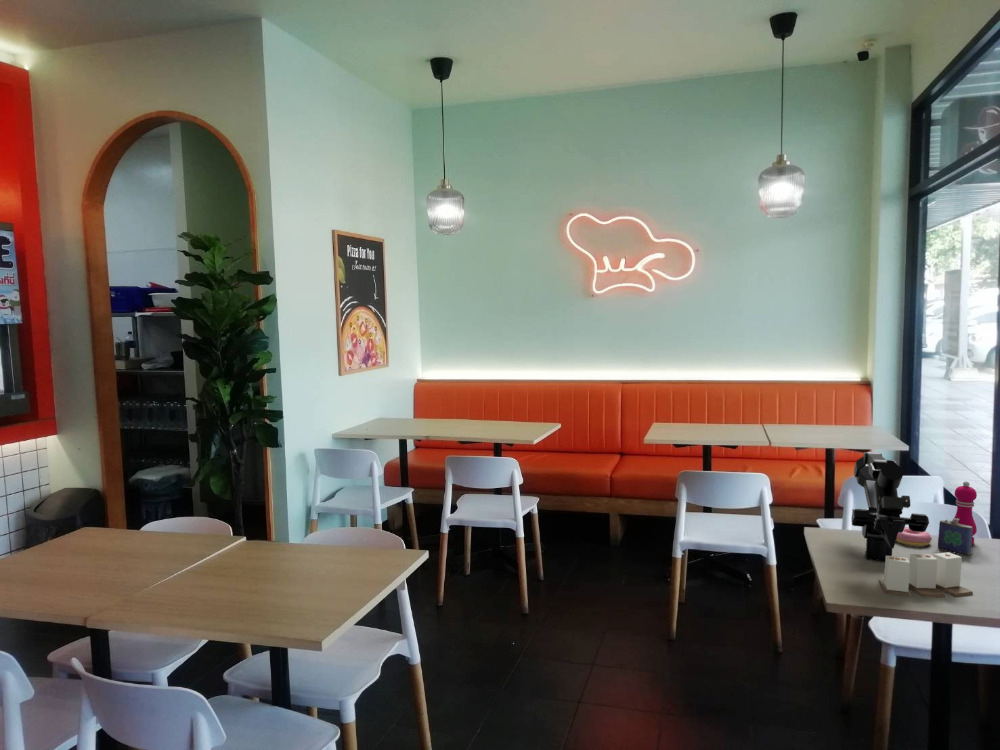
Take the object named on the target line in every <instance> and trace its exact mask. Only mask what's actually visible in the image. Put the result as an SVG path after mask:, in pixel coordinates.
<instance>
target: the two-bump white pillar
mask: <svg viewBox="0 0 1000 750" xmlns="http://www.w3.org/2000/svg"><path fill="white" fill-rule="evenodd" d="M909 562H910V570H909V583H910V584H912V585H913V586H914V587H916V588H936V574H937V559H936V558H934V555H933V556H932V555H931V554H929V553H910V554H909Z"/></svg>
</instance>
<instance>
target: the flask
mask: <svg viewBox="0 0 1000 750" xmlns="http://www.w3.org/2000/svg"><path fill="white" fill-rule="evenodd" d="M953 519H954V521H952V520H953ZM952 520H948V519H945V520H944V519H943V520H942V519H941V520H940V521H939V527H938V538H937V549H938V548H939V549H938V550H941V549H943V550H942V551H944V550H946V551H945V552H948V551H950V552H949V553H953V552H955V553H954V554H957V553H959V554H958V555H961V554H963V555H962V556H967V555H970V556H971V555H972V548H973V547H972V546H973V544H972V537H973V536H972V532H973V528H972V526H967V525H962V524H958V521H959V520H960V519H958V518H957V519H956V518H954V517H952Z"/></svg>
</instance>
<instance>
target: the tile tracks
mask: <svg viewBox="0 0 1000 750" xmlns="http://www.w3.org/2000/svg"><path fill="white" fill-rule="evenodd" d="M878 582H879V585H880V586H881V589H882V591H883V592H884V594H889V595H896V594H897V595H896V596H904V595H906V596H907V597H911V592H910V590H911V589H912V591H913V592H914V591H915V592H914V593H916V594H917V595H918V594H919V596H920V597H921V596H922V597H921V598H946V594H948V595H950V596H951V597H954V598H956V597H962V596H963V597H964V596H970V595H971V596H972V595H973V593H974V591H973V590H971V589H968V588H966V587H963V586H961V585H960V586H956V587H948V588H944V587H942V586H940V585H937V584H936V588H916V587H914V586H913V585H912V584H910V583H909V587H908V592H903V591H895V590H887V589H886V587H885V585H884V579H883V578H879V579H878ZM909 589H910V590H909Z"/></svg>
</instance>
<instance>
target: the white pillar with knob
mask: <svg viewBox="0 0 1000 750" xmlns="http://www.w3.org/2000/svg"><path fill="white" fill-rule="evenodd" d="M933 557H934V558H936V559H937V574H936V584H937V585H940V586H942V587H944V588H948V587H956V586H961V574H962V572H961V571H962V560H963V559H962V558H963V557H962V556H960V555H958V554H956V553H953V552H948V551H946V552H938V553H934V554H933Z"/></svg>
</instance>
